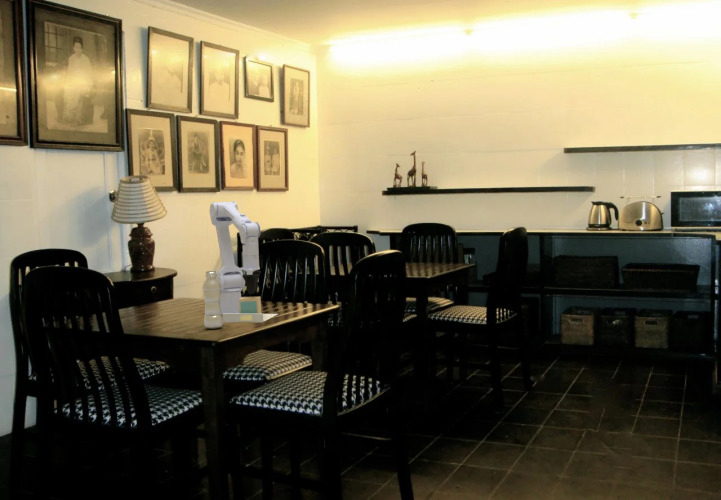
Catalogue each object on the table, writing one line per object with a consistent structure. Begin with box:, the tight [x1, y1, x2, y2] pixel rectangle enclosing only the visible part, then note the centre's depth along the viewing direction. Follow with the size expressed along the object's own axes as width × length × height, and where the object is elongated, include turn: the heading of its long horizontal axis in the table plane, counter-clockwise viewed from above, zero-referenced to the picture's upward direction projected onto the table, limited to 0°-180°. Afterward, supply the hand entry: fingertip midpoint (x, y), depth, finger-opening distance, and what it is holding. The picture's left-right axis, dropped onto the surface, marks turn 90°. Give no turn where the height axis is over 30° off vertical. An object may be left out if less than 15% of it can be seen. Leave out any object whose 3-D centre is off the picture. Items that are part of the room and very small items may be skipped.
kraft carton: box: [239, 296, 262, 313], centre depth 268 cm, size 5×7×8 cm
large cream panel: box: [222, 312, 278, 323], centre depth 272 cm, size 15×18×4 cm
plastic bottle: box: [202, 270, 224, 330], centre depth 255 cm, size 6×7×20 cm
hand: (252, 292), depth 271 cm, fingers open, 7 cm apart
